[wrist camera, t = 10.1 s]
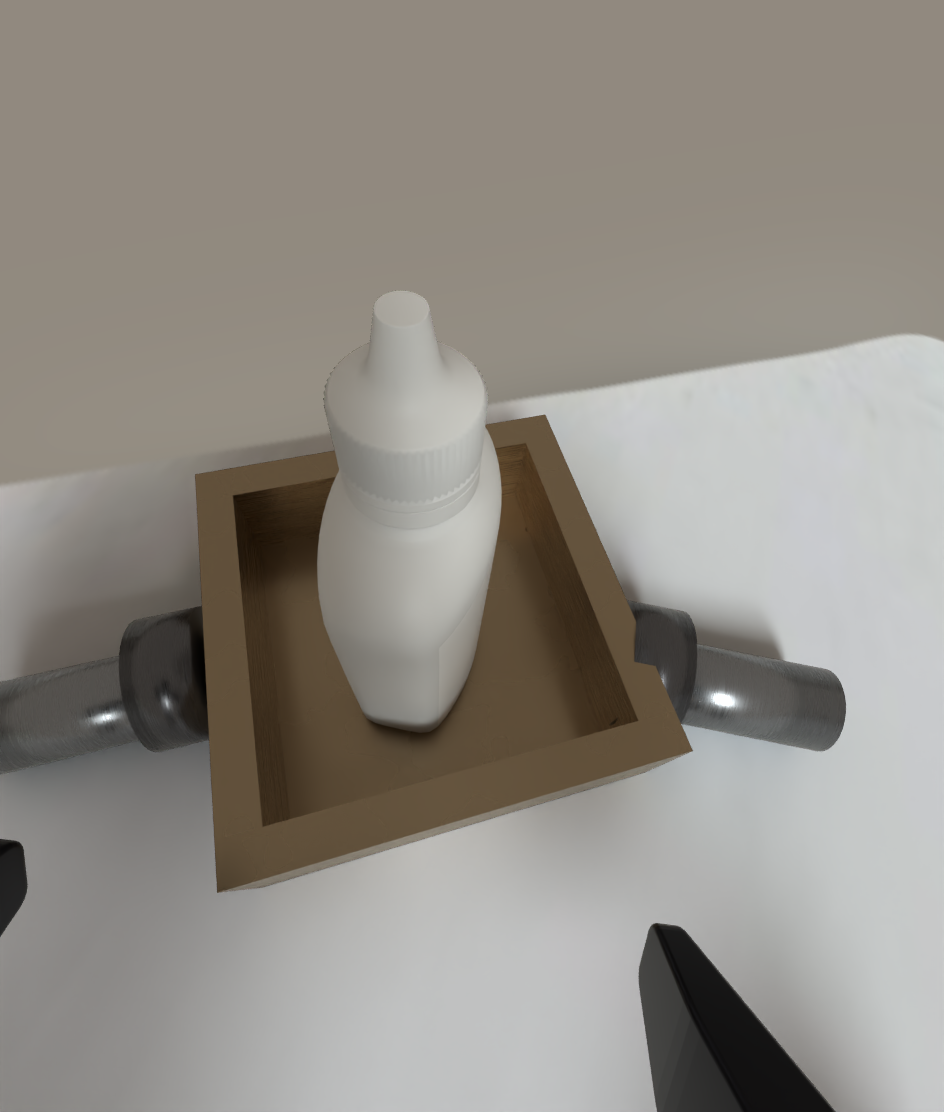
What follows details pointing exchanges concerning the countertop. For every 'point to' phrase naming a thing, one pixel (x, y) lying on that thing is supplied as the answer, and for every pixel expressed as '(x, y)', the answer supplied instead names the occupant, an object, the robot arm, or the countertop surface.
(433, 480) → the white bottle
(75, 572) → the countertop surface
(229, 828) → the square brown wooden tray
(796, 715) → the output shaft
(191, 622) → the input shaft
